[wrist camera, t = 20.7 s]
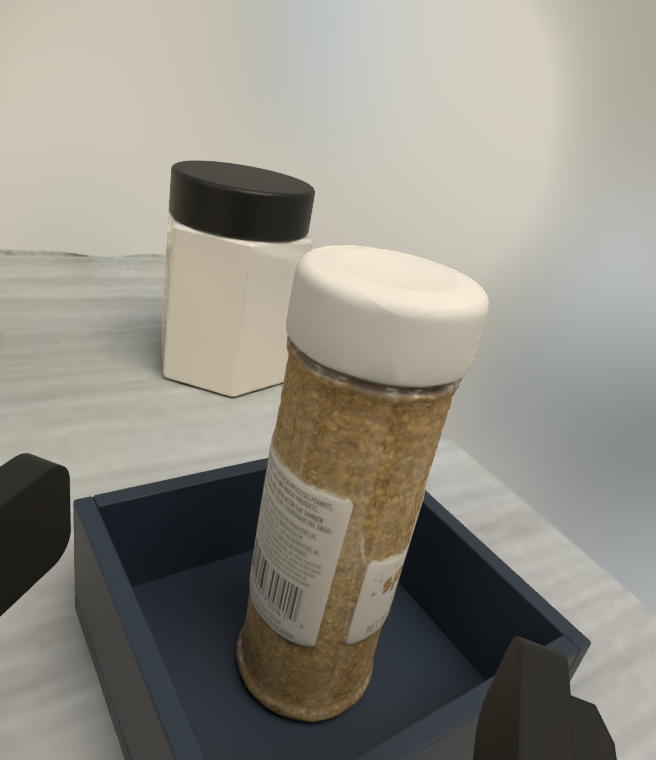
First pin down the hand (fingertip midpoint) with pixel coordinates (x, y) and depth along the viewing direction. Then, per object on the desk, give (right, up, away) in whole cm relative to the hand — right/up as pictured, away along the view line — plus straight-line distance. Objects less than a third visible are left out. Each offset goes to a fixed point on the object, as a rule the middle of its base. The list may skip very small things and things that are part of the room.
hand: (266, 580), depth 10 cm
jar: (-6, +4, +29) cm, 30 cm away
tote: (0, -6, +10) cm, 12 cm away
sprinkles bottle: (0, -6, +10) cm, 11 cm away
